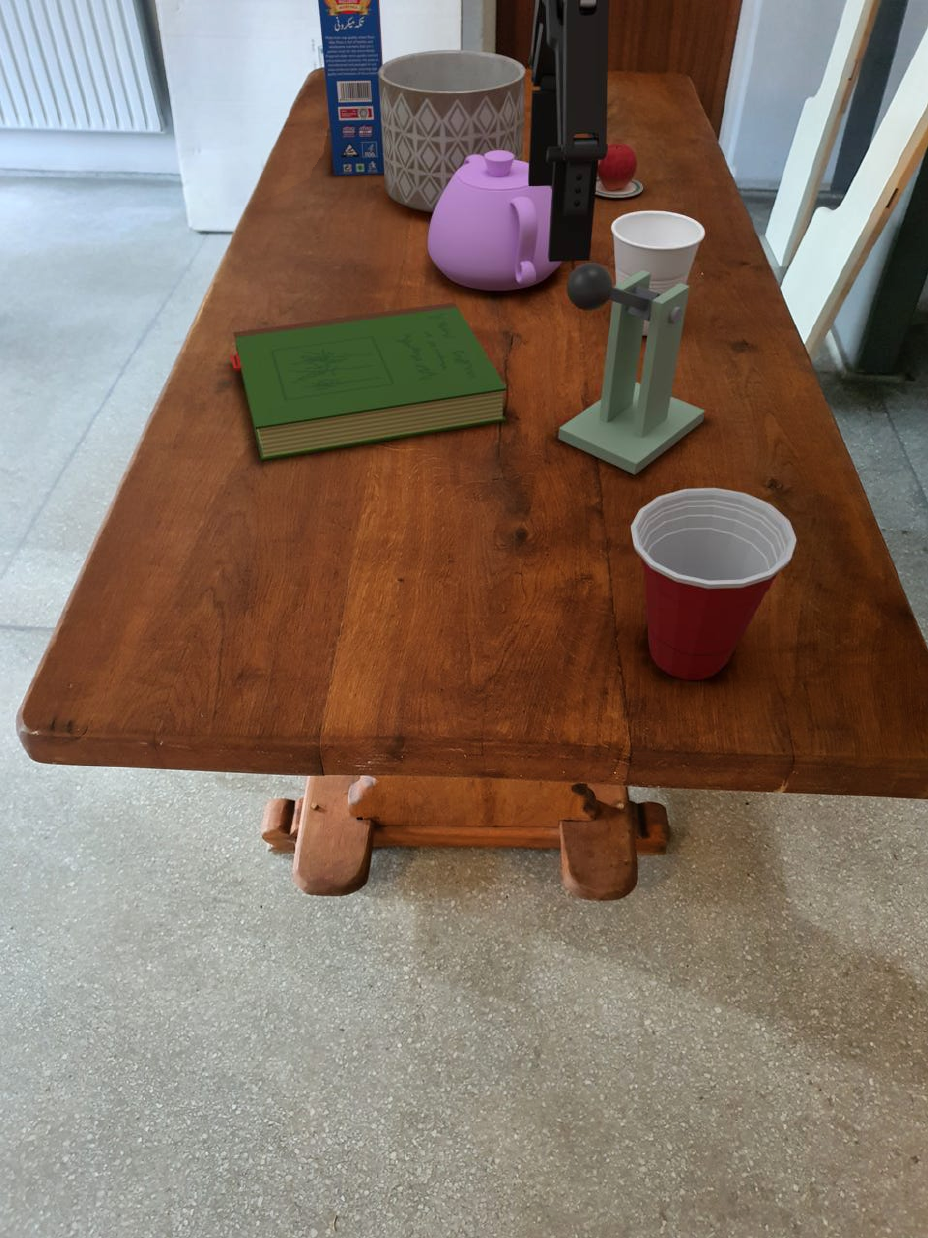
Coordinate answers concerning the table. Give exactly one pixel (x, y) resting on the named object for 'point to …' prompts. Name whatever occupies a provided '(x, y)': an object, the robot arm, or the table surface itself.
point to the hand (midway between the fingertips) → (556, 219)
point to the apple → (618, 173)
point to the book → (365, 380)
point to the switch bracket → (637, 386)
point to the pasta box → (353, 83)
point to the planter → (446, 118)
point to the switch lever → (606, 291)
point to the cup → (656, 248)
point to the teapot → (492, 225)
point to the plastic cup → (706, 573)
